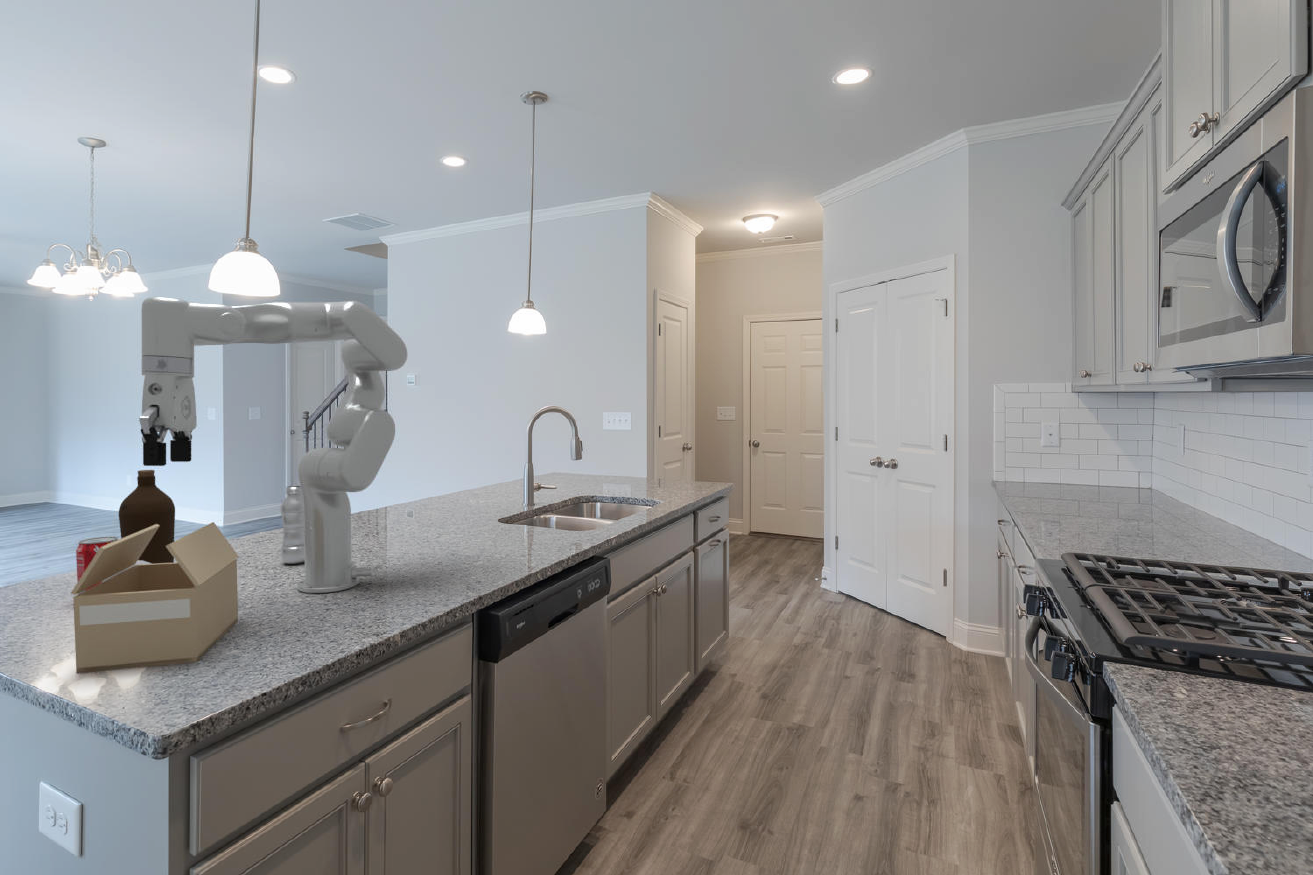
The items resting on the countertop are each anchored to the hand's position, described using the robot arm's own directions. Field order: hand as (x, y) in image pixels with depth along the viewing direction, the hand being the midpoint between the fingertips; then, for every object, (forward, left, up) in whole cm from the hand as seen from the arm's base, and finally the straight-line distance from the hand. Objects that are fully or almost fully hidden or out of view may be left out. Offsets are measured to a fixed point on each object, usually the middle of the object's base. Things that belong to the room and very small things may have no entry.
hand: (168, 463), depth 115 cm
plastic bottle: (-9, -48, -31) cm, 58 cm away
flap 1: (+5, +7, -15) cm, 17 cm away
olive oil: (+22, -46, -31) cm, 60 cm away
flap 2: (-7, +7, -15) cm, 18 cm away
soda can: (+22, -24, -31) cm, 45 cm away
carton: (-1, +7, -31) cm, 32 cm away
